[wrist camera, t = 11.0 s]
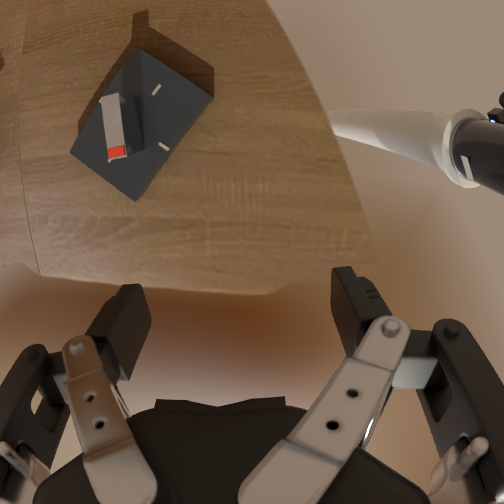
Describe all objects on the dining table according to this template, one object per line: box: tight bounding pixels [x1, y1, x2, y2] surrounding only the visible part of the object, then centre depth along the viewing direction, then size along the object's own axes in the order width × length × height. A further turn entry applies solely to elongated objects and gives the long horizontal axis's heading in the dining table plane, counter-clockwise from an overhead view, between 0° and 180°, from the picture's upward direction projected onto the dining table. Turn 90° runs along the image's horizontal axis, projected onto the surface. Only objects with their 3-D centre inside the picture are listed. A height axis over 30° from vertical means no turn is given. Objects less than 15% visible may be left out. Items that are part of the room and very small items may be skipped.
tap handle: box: [101, 92, 144, 160], centre depth 28 cm, size 6×2×6 cm, turn 5°
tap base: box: [70, 47, 214, 202], centre depth 31 cm, size 15×11×3 cm
